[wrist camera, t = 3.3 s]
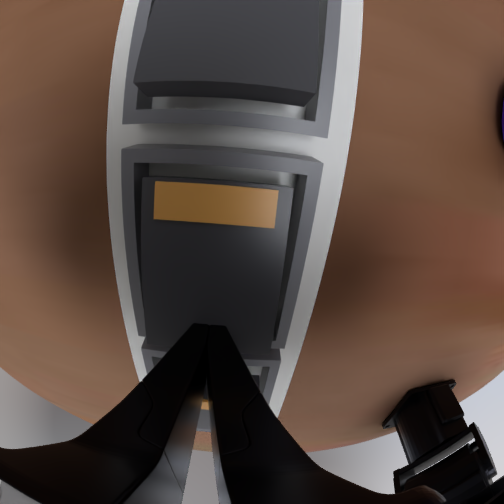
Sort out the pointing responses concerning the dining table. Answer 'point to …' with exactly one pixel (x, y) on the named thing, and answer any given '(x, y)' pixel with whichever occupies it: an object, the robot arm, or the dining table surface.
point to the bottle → (503, 120)
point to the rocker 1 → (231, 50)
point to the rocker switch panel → (235, 172)
